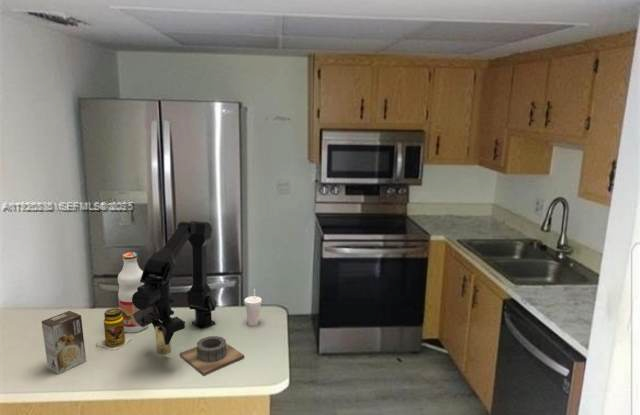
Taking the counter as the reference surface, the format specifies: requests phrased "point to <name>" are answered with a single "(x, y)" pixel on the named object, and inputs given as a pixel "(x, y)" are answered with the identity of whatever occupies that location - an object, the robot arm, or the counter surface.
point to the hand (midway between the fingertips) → (163, 341)
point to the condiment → (113, 330)
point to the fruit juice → (129, 291)
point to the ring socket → (211, 355)
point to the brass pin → (161, 342)
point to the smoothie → (253, 309)
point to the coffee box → (64, 341)
